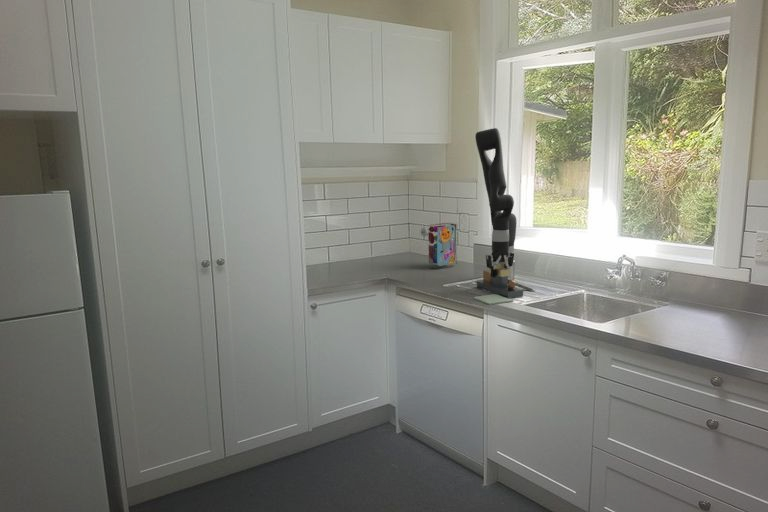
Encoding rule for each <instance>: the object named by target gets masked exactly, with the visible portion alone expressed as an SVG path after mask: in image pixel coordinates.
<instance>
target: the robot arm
mask: <svg viewBox="0 0 768 512" xmlns="http://www.w3.org/2000/svg"><path fill="white" fill-rule="evenodd" d="M475 144H476V147H477V151H478V155H479V158H480V162H481V167H482V173H483V178H484V179H483V180H484V184H485V188H486V189H485V190H486V192H487V197H488V203H489V204H488V205H489V209H490V210H489V211H490V221H491V225H492V232H491V251H492V252H491V254H486V255H485V260H486V263H485V265H486V268H487V269H489V268H490V269H491V277H493V278H495V277H496V270H495V268H496V266H497V265H498V264H500V265H501V267H504V268H508V269H510V276H508V278H509V279H510V280H515V281H516V279H515V278H516V277H515V276H516V261H515V259H514V258H515V253H514V252H515V241H516V234H517V217H516V214H514V213H513V208H514V204H515V201H514V197H513V196H512V195H511V194H505V193H506V190H507V182H506V176H505V170H504V159H503V145H502V139H501V134H500V131H499V128H497V127H494V128H493V127H492V128H489V129H485V130H480V131H477V132H476V133H475ZM492 150H495V152H494V157H493V160H491V159H490V157H489V155H488V154H487V151H488V152H489V151H492Z"/></svg>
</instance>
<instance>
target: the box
mask: <svg viewBox="0 0 768 512" xmlns="http://www.w3.org/2000/svg"><path fill="white" fill-rule="evenodd" d="M457 231H458V228H457V223H456V222H455V223H454V222H443V223H442V222H441V223H436V224H435V223H434V224H433V223H432V224H429V226H428V233H427V229H426V228H425V227H421V228H420V235H421V237H423V238H425V237H426V236H428V246H427V247H428V265H429V266H433V267H429V269H431V270H432V269H434V270H438V267H439V268H441V267H442V269H445V268H448V269H451V268H452V267H455V266H456V265H457V262H454V261H455V260H458V256H457V241H458V237H457ZM434 233H436V235H435V234H434ZM454 263H455V264H456V265H455V264H454ZM453 264H454V265H453ZM434 267H436V268H434ZM443 267H444V268H443Z"/></svg>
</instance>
